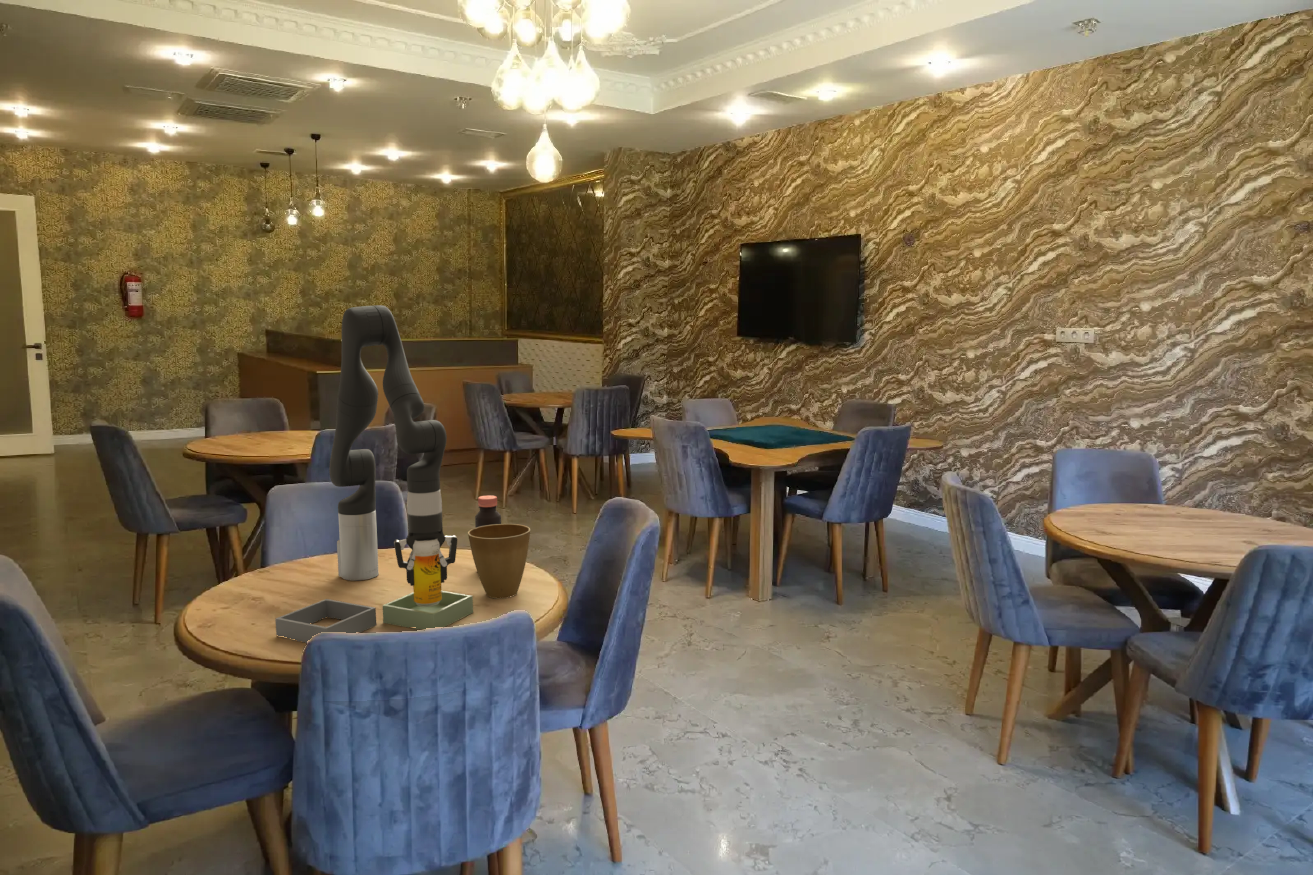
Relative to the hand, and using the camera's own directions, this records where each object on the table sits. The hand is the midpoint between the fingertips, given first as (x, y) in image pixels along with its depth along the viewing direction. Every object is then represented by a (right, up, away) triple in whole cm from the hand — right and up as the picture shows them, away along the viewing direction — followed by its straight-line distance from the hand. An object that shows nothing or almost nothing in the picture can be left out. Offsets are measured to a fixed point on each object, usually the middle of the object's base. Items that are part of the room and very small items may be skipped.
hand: (427, 583), depth 200 cm
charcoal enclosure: (-20, -9, -7) cm, 23 cm away
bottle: (+7, -3, +37) cm, 38 cm away
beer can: (0, -5, +1) cm, 5 cm away
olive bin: (0, -8, +1) cm, 8 cm away
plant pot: (+13, -6, +18) cm, 23 cm away
